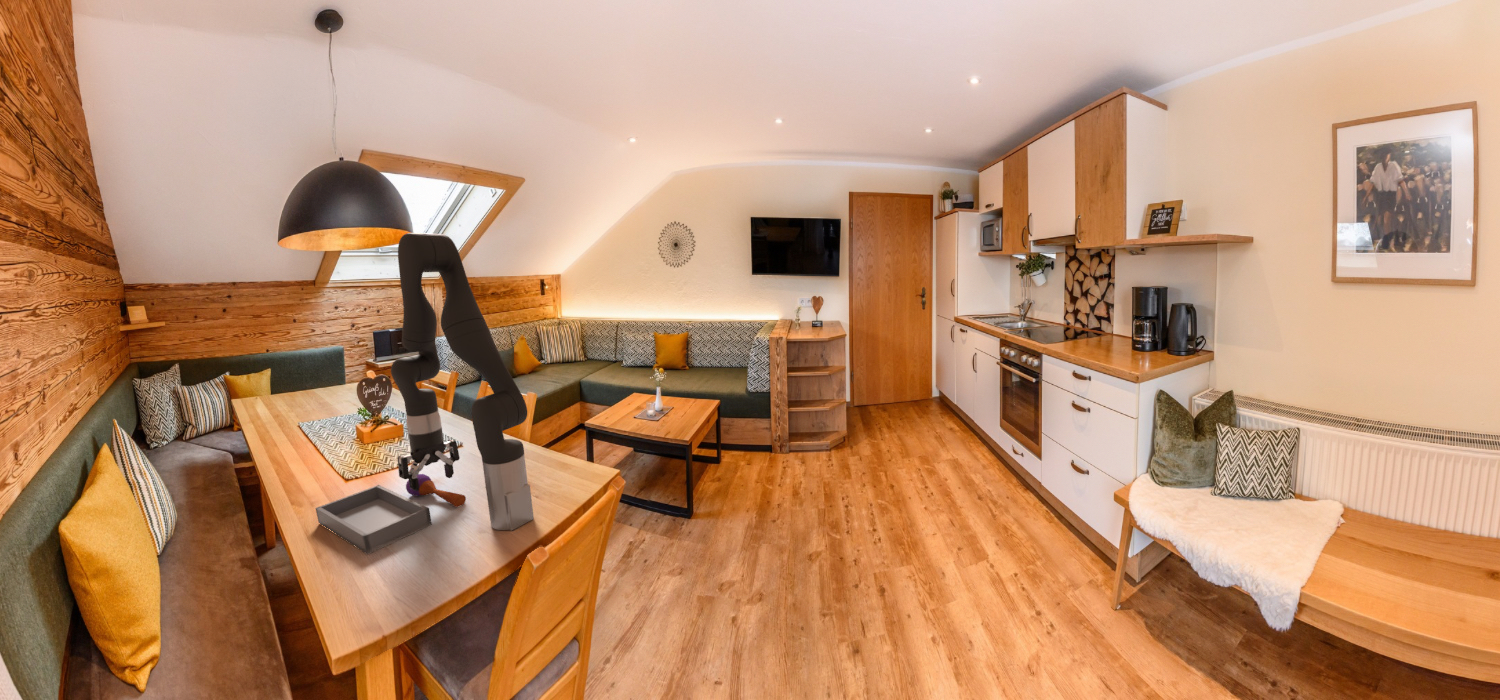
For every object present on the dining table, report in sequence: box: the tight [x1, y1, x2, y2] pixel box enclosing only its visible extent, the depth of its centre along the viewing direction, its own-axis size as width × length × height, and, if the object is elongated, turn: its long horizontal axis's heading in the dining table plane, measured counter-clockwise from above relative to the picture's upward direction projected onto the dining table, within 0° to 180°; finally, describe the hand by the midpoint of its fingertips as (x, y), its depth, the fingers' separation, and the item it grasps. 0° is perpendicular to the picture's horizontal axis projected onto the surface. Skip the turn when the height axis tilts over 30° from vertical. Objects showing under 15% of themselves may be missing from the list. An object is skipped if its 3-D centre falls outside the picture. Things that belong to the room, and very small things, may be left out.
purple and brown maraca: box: [405, 473, 467, 508], centre depth 130 cm, size 6×6×20 cm
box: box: [315, 484, 432, 555], centre depth 118 cm, size 26×14×4 cm, turn 61°
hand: (433, 483), depth 130 cm, fingers open, 8 cm apart
